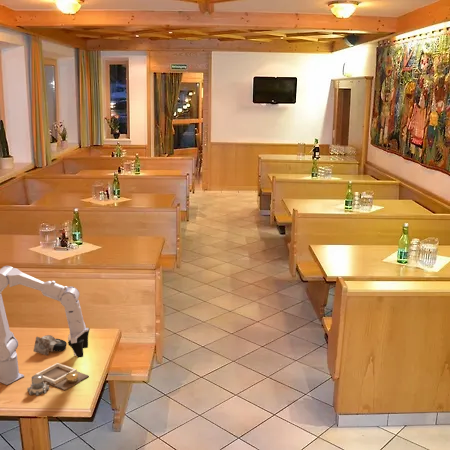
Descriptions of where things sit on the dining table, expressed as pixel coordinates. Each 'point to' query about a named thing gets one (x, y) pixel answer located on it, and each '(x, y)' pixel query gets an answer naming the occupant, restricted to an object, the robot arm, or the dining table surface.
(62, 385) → the carrier board
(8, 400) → the dining table surface
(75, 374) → the golden brown dome
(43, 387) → the planet gear
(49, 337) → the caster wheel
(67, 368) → the carrier pocket
